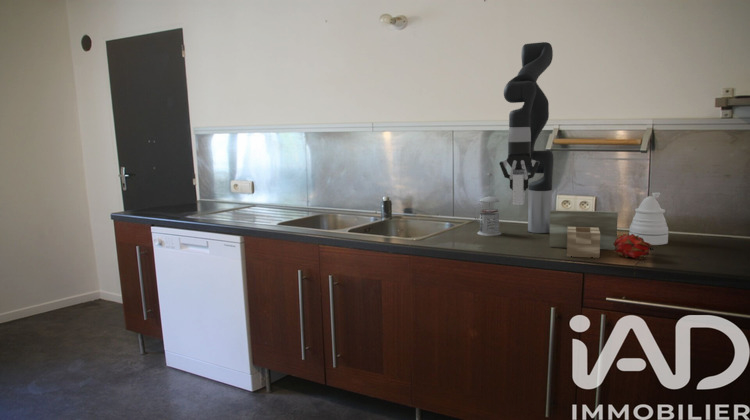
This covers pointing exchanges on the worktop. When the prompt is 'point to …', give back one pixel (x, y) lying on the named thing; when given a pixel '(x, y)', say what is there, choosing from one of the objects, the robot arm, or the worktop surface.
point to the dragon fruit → (632, 246)
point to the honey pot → (650, 222)
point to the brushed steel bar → (518, 187)
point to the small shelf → (583, 232)
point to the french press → (488, 216)
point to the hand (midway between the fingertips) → (518, 189)
